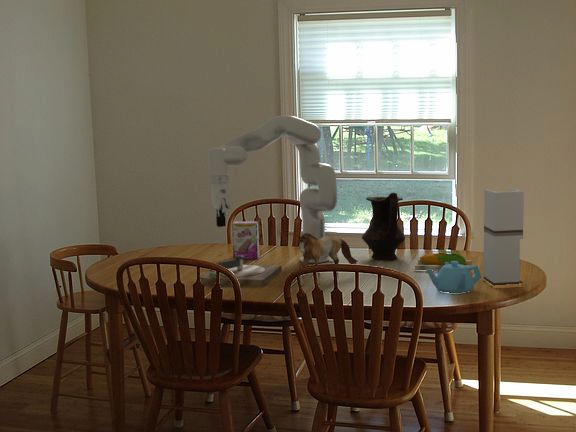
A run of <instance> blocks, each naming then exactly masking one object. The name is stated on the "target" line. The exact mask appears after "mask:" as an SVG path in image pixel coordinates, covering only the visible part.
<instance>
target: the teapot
mask: <svg viewBox="0 0 576 432" xmlns="http://www.w3.org/2000/svg"><path fill="white" fill-rule="evenodd" d="M470 271H471V273H470ZM472 271H473V273H474V275H472ZM426 273H427V274H428V277H429V278H430V280H431V282H432V284H433V285H434V287H435V288H436V290H437V291H438V290H439V291H442V292H449V293H462V292H468V291H471V290H473V289H474V287H475V284H477V283H478V282H479V281H480V280H481V279H482V278H483V277H482V275H481V272H480V269H479V266H478V265H477V264H475V265H473V264H472V266H469V267H466V266H465V265H461V264H458V261H451V264H449V262H445V265H444V266H443V267H442V268H441V269H440V271H439V272H437V275H436V274H435V272H433V271H432V270H431V269H428V270H427V272H426ZM439 291H438V292H439ZM471 292H472V291H471Z"/></svg>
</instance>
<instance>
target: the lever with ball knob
mask: <svg viewBox="0 0 576 432" xmlns="http://www.w3.org/2000/svg"><path fill="white" fill-rule="evenodd" d="M243 258H244V255H236V256H235V259H233V258H232V259H227V260H222V261H219V262H218V264H219V265H221V266H223V267H225V268H227V269H230V268H234V267H237V270H243V264H244V263H243V262H244V259H243Z"/></svg>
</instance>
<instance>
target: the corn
mask: <svg viewBox="0 0 576 432" xmlns="http://www.w3.org/2000/svg"><path fill="white" fill-rule="evenodd" d="M431 252H434V253H429V254H428V253H427V254H423V255H422V256H420V257H419V259H420V260H421V261H422V262H424V263H426V264H424V265H440V266H444V265H445V262H449V264H451V261H458V264H461V265H466V261H467V260H466V258H465V257H464V256H463V255H462V254H461V253H459V252H455V251H452V250H451V251H450V250H432V251H431ZM435 252H437V253H435Z"/></svg>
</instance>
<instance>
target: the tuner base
mask: <svg viewBox="0 0 576 432" xmlns="http://www.w3.org/2000/svg"><path fill="white" fill-rule="evenodd" d="M229 270H230V271H232V272H233V273H234V274H235V276H236V277H237V279H238V281H239V283H240V285H241V286H242V287H265V286H266V285H267V284H268V283H270V282H271V281H272V280H273V279H274V278H276V277H277V276H278V275H279V274H281V271H283V270H282V265H280V264H278V265H277V264H274V265H273V264H244V263H243V270H237V267H234V268H230V269H229ZM199 276H200V279H201V282H202V283H203V284H202V285H204V286H205V285H207V286H208V285H210V286H212V285H214V286H216V285H215V283H216V272H215V271H212V270H209V269H208V270H207V271H205V272H204V273H202V274H201V275H199ZM219 286H233V285H232V283H231V281H230V279H229V278H228V277H226V276H225V275H223V274H221V273H220V285H219ZM241 286H240V287H241Z"/></svg>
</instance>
